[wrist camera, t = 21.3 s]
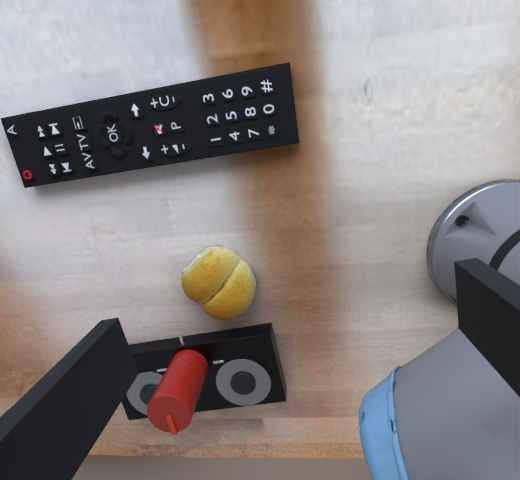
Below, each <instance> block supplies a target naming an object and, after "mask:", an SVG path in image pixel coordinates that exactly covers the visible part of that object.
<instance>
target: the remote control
mask: <svg viewBox="0 0 520 480" xmlns="http://www.w3.org/2000/svg"><path fill="white" fill-rule="evenodd" d="M1 121H2V124H3V127H4V130H5V133H6V135H7V138H8V141H9V144H10V147H11V150H12V153H13V156H14V158H15V161H16V164H17V167H18V170H19V173H20V176H21V178H22V181H23V184H24V187H25V188H27V187H33V186H39V185H45V184H51V183H57V182H63V181H70V180H76V179H82V178H88V177H94V176H100V175H106V174H112V173H118V172H125V171H131V170H137V169H143V168H149V167H155V166H161V165H167V164H173V163H180V162H186V161H192V160H198V159H204V158H210V157H216V156H222V155H228V154H235V153H241V152H247V151H253V150H259V149H265V148H271V147H277V146H283V145H290V144H296V143H299V136H298V128H297V120H296V112H295V104H294V96H293V88H292V80H291V71H290V63H284V64H279V65H274V66H268V67H263V68H258V69H253V70H248V71H243V72H237V73H232V74H227V75H222V76H217V77H212V78H207V79H201V80H196V81H191V82H186V83H181V84H176V85H170V86H165V87H160V88H155V89H150V90H145V91H140V92H134V93H129V94H124V95H119V96H114V97H109V98H103V99H98V100H93V101H88V102H83V103H78V104H73V105H67V106H62V107H57V108H52V109H47V110H42V111H36V112H31V113H26V114H21V115H16V116H11V117H6V118H1Z"/></svg>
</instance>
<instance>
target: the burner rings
mask: <svg viewBox="0 0 520 480" xmlns="http://www.w3.org/2000/svg"><path fill="white" fill-rule="evenodd" d="M162 377H163V374H161V373H158V372H154V371H144V372H140V373H139V374H138V376H137V378H136V379H135V381H134V382H133V384H132V385H131V387H130V389H129V390H128V392H127V397H128V400H129V402H130V403H131V404H132V406H133V407H134V408H135V409H137V410H138V411H139V412H141V413H143V414H146V415H147V406H148V404H149V402H150V400H151V398H152V396H153V394H154V392H155V391H156V389H157V387H158V385H159V383H160V381H161V379H162ZM216 385H217V388H218V390H219V392H220V394H221V395H222V396H223V397H224V398H225V399H227V400H228V401H230V402H232V403H234V404H237V405H243V406H248V405H254V404H257V403H259V402H261V401H262V400H264V399H265V398H266V397H267V395H268V393H269V391H270V388H271V379H270V375H269V373H268V372H267V370H266V369H265V368H264V367H263V366H262V365H261V364H260V363H258V362H256V361H254V360H252V359H247V358H236V359H232V360H229V361H227V362H226V363H224V364H223V365H222V366H221V367H220V369H219V370H218V373H217V376H216Z"/></svg>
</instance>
